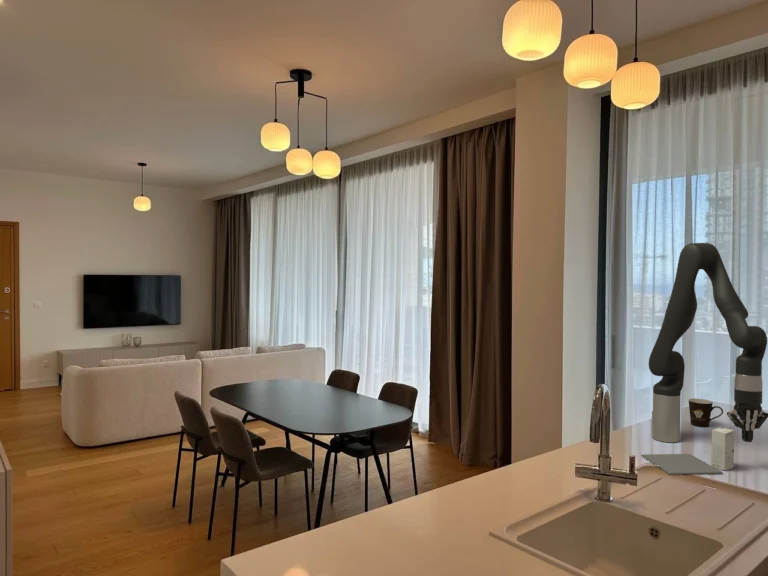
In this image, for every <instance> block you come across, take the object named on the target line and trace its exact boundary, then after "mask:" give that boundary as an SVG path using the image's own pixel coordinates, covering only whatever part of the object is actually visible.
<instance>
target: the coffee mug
mask: <svg viewBox="0 0 768 576" xmlns="http://www.w3.org/2000/svg"><path fill="white" fill-rule="evenodd" d="M688 408H689V417H690V424H691V426H693V427H696V428H709V427H710V422H711V421H712V420H715V419H717V418H720V417H721V416H722V415H723V414H724V409H723V408H722V407H720V406H718V405H715V406H713V401H712V400H709V399H703V398H695V397H694V398H689V399H688ZM716 408H717V409H719V410H720V411H721V413H720V414H718V415H717V416H715V417H713V418H711V415H712V412H713V410H714V409H716Z"/></svg>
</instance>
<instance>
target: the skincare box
mask: <svg viewBox="0 0 768 576" xmlns="http://www.w3.org/2000/svg"><path fill="white" fill-rule="evenodd" d="M734 453H735V430H734V429H729V428H724V427H718V428H715V429H712V430H711V466H712V467H714V468H716V469H718V470H720V469H721V470H720V471H724V470H725V471H728V470H732V469H733V468H734V467H735V466H734V465H735V458H734V457H735V455H734Z"/></svg>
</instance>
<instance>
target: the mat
mask: <svg viewBox="0 0 768 576" xmlns="http://www.w3.org/2000/svg"><path fill="white" fill-rule="evenodd" d="M640 456H641V457H642V456H643V457H644V458H643V457H642V458H643V459H645V458H646V459H647V460H646V459H645V460H646V461H648V460H649V461H651V462H653V463H654V464H656V465H659V467H660V468H661V469H662V470H661V469H660V468H659V469H660V470H661V471H662V472H664V473H666V474H667V475H669V476H683V475H682V474H708V475H723V471H722V470H720V469H717V468H714V467H712V464H709V463H707V462H705V461H703V460H701V459H700V458H698V457H696V456H694V455H693V454H690V453H664V454H663V453H660V454H659V453H658V454H656V453H655V454H653V453H652V454H651V453H650V454H648V453H647V454H641V455H640ZM649 461H648V462H649ZM651 462H650V463H651ZM654 464H653V465H654Z"/></svg>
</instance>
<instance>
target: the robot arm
mask: <svg viewBox="0 0 768 576" xmlns="http://www.w3.org/2000/svg"><path fill="white" fill-rule="evenodd" d="M700 270H703V271H704V272H705V273H706V275H707V276H708V279H709V281H710V282H711V283H710V284H711V286H712V295H713V296H712V297H713V301H714V303H715V305H716V307H717V309H718V311H719V313H720V315H721V316H722V318H723V320H724V321H725V325H726V329H727V331H728V332H727V333H728V336H729V339H730V340H731V341H732V343H733V344H734V345H735V346H736V347H737V348H739V349H742V353H741V354H739V355H738V356H736V359H735V376H734V385H733V393H734V394H733V396H734V398H733V400H734V403H735V404H734V406H733V409H732V410H731V411H727V413H726V415H727V417H728V418H729V420H730V421H731V422H732V424H734V426H735V427H737V428H739V429H741V440H742V441H743V442H745V443H753V442H752V441H753V440H754V431H755V430H757V429H760V428H761V427H762V425H763V424H764V423H765V422H766V420H767V419H768V413H767V412H765V411H764V410H763V407H762V404H763V375H762V373H763V371H762V369H763V365H762V364H763V363H762V362H763V359H764V356H765V353H766V349H767V345H768V337H767V336H768V335H767V332H765V330H764V329H763V328H762V327H761V326H758V325H757V326H756V325H748V322H747V318H748V316H749V312H748V310H747V308H746V306H745V305H744V303H743V301H742V299H741V298H740V296H739V295H738V293H737V291H736V290H735V287H734V286H733V284H732V282H731V279H730V277H729V274H728V272H727V269H726V266H725V265H724V262H723V259H722V257H721V255H720V252H719V250H718V249H717V247H716V246H715V245H714V244H712V243H709V242H692V243H688V244H686V245H684V246H683V247H682V249H681V251H680V253H679V257H678V262H677V268H676V273H675V278H674V282H673V286H672V289H671V294H670V297H669V299H668V300H669V301H668V303H667V307H666V309H665V314H664V317H663V321H662V324H661V327H660V330H659V333H658V336H657V338H656V341H655V342H654V346H653V348H652V349H651V352H650V354H649V357H648V369H649V371H650V373H651V375H654V376H656V377H662V378H661V379H660V380H659V381H658V382H656V383H655V384H654V385H653V386H652V411H651V438H652V439H654V440H656V441H659V442H664V443H678V442H680V438H681V435H680V432H681V399H682V398H681V396H682V395H681V393H682V390H683V388H684V380H685V369H686V368H685V360H684V357H683V355H682V354H681V353H680V352H679V351H676V350H673V349H674V347H675V345H676V343H677V342H678V341H679V340H680V339H681V338H682V337H683V335H684V334H685V333H686V332H687V331H688V330H689V329H690V327H692V324H693V322H694V319H695V316H696V313H697V309H698V299H697V295H696V290H695V284H696V279H697V276H698V274H699V271H700Z"/></svg>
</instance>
